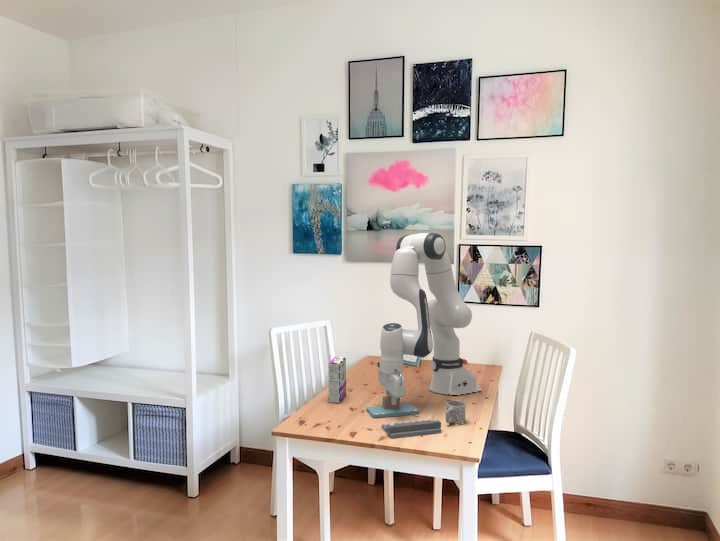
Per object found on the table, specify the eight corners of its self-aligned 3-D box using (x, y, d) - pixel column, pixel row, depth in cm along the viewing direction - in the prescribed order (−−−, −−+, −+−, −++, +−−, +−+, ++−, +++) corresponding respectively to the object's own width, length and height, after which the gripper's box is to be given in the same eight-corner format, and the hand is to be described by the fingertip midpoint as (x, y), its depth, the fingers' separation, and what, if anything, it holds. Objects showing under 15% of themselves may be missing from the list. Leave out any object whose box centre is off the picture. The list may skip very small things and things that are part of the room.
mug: (452, 416, 198) (452, 399, 198) (468, 421, 194) (468, 403, 194) (438, 424, 191) (438, 406, 190) (454, 428, 186) (454, 410, 186)
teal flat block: (410, 406, 210) (410, 393, 209) (419, 413, 201) (419, 400, 201) (366, 410, 205) (366, 396, 204) (373, 418, 196) (373, 404, 196)
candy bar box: (334, 394, 224) (334, 356, 223) (346, 395, 223) (346, 356, 222) (327, 403, 213) (328, 362, 212) (340, 403, 212) (340, 363, 211)
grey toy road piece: (430, 422, 192) (430, 412, 192) (442, 432, 182) (442, 421, 182) (380, 427, 187) (380, 417, 186) (389, 438, 177) (390, 427, 177)
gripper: (409, 373, 194) (409, 410, 195) (390, 360, 214) (390, 394, 215) (393, 374, 192) (392, 411, 193) (375, 361, 212) (375, 395, 213)
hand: (391, 402), depth 204 cm, fingers closed on teal flat block, 3 cm apart
